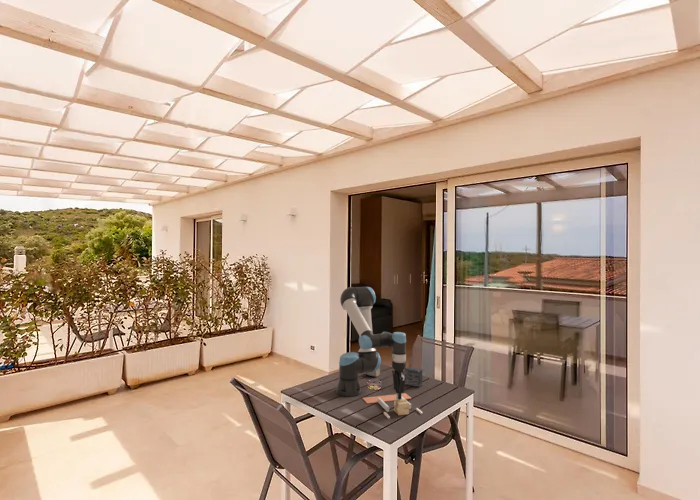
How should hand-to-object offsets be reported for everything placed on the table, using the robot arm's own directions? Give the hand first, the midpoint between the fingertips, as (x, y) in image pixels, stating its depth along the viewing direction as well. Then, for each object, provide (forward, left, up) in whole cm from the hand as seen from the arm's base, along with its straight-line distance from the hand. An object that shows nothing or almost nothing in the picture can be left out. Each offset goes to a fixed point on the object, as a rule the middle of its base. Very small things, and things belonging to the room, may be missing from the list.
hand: (398, 404), depth 200 cm
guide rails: (-6, 0, -3) cm, 7 cm away
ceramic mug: (-58, +8, -3) cm, 59 cm away
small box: (-33, +26, -3) cm, 42 cm away
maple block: (+4, 0, -3) cm, 5 cm away
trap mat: (-16, 0, -3) cm, 16 cm away
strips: (+6, 0, -3) cm, 7 cm away
